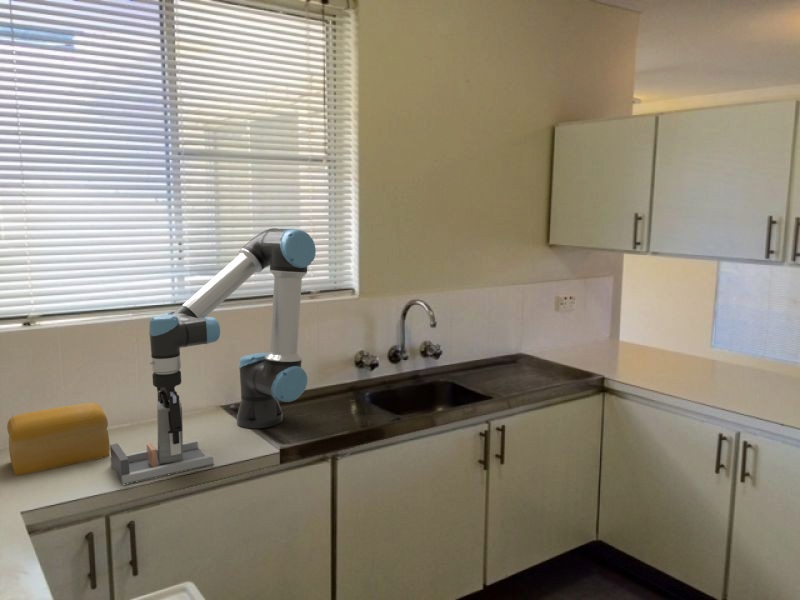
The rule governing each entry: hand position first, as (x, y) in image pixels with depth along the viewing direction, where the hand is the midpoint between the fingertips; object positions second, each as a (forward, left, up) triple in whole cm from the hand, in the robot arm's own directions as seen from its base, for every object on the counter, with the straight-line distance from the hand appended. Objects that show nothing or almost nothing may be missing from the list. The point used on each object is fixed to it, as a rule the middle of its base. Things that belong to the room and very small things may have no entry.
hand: (171, 448), depth 188 cm
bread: (+26, -22, -5) cm, 34 cm away
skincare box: (0, 0, -3) cm, 3 cm away
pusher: (+5, 0, -3) cm, 6 cm away
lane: (+3, 0, -4) cm, 5 cm away
